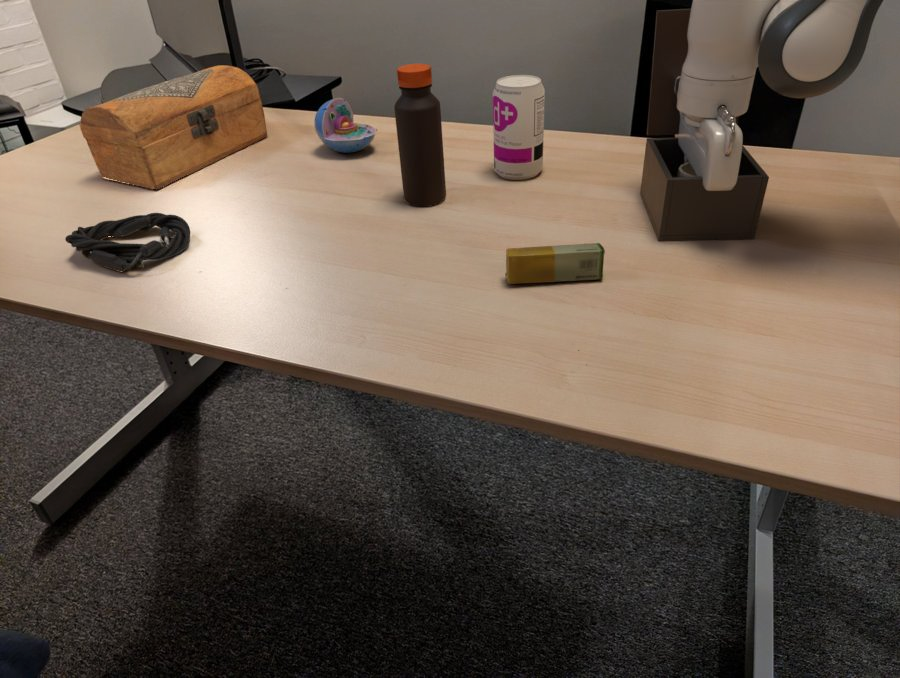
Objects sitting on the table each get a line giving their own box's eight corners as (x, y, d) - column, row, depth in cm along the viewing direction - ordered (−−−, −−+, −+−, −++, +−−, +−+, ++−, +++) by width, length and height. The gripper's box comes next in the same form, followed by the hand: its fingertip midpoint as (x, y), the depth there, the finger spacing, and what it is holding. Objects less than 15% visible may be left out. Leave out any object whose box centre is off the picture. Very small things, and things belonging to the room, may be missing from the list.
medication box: (598, 271, 83) (601, 241, 81) (603, 280, 81) (606, 250, 79) (505, 276, 83) (505, 246, 81) (507, 285, 81) (507, 255, 79)
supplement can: (511, 185, 107) (511, 91, 98) (485, 170, 113) (483, 80, 104) (552, 173, 110) (555, 81, 101) (524, 159, 116) (525, 71, 107)
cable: (54, 259, 95) (42, 232, 92) (131, 219, 105) (122, 193, 102) (135, 281, 88) (124, 253, 85) (210, 236, 98) (202, 210, 95)
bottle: (395, 199, 105) (380, 69, 93) (428, 186, 108) (417, 59, 97) (422, 211, 101) (409, 76, 89) (455, 197, 104) (447, 66, 92)
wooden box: (158, 193, 113) (130, 112, 105) (98, 179, 120) (67, 102, 112) (275, 137, 133) (260, 66, 125) (218, 128, 141) (200, 60, 132)
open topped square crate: (754, 239, 88) (769, 177, 82) (658, 241, 89) (667, 179, 84) (723, 191, 100) (735, 135, 95) (639, 193, 101) (646, 138, 96)
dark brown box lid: (753, 5, 87) (751, 5, 88) (657, 10, 89) (656, 10, 89) (736, 132, 94) (734, 131, 95) (647, 135, 95) (646, 134, 96)
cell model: (360, 163, 119) (353, 110, 113) (308, 156, 124) (298, 104, 118) (389, 145, 126) (383, 94, 120) (339, 138, 131) (331, 89, 125)
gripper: (764, 120, 76) (739, 227, 84) (718, 73, 92) (701, 167, 100) (708, 121, 76) (689, 228, 85) (673, 75, 93) (660, 168, 101)
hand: (696, 194), depth 93 cm, fingers closed on creamer cup, 6 cm apart
